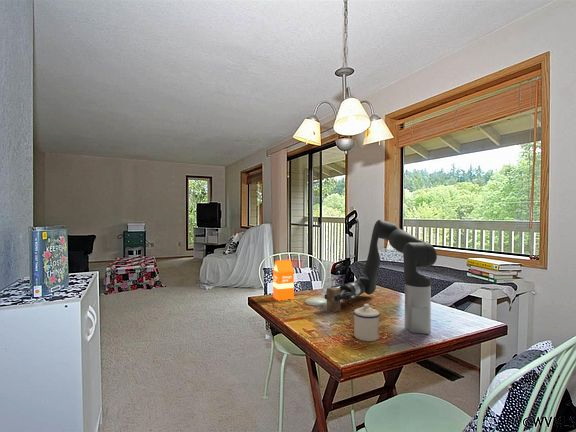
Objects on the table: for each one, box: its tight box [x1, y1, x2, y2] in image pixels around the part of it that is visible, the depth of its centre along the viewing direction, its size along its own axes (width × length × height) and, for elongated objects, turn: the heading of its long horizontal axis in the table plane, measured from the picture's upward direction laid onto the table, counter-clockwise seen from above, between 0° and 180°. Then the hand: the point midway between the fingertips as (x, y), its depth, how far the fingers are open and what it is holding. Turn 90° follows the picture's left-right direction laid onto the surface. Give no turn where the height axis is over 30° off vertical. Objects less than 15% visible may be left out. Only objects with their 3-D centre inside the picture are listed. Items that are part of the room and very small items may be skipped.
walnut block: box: [326, 286, 341, 313], centre depth 145 cm, size 4×4×10 cm
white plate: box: [305, 296, 327, 307], centre depth 156 cm, size 11×11×1 cm
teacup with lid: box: [353, 303, 381, 342], centre depth 114 cm, size 12×9×12 cm
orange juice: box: [272, 259, 295, 302], centre depth 165 cm, size 8×9×20 cm
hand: (330, 298), depth 142 cm, fingers closed on walnut block, 4 cm apart
